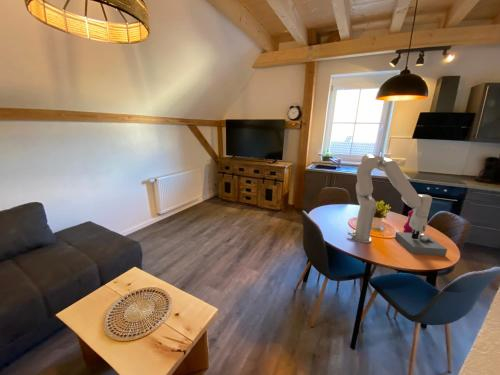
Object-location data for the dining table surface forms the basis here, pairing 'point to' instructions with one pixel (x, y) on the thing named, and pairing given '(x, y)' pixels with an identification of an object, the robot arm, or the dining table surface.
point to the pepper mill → (406, 227)
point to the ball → (423, 237)
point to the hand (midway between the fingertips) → (414, 238)
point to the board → (420, 245)
